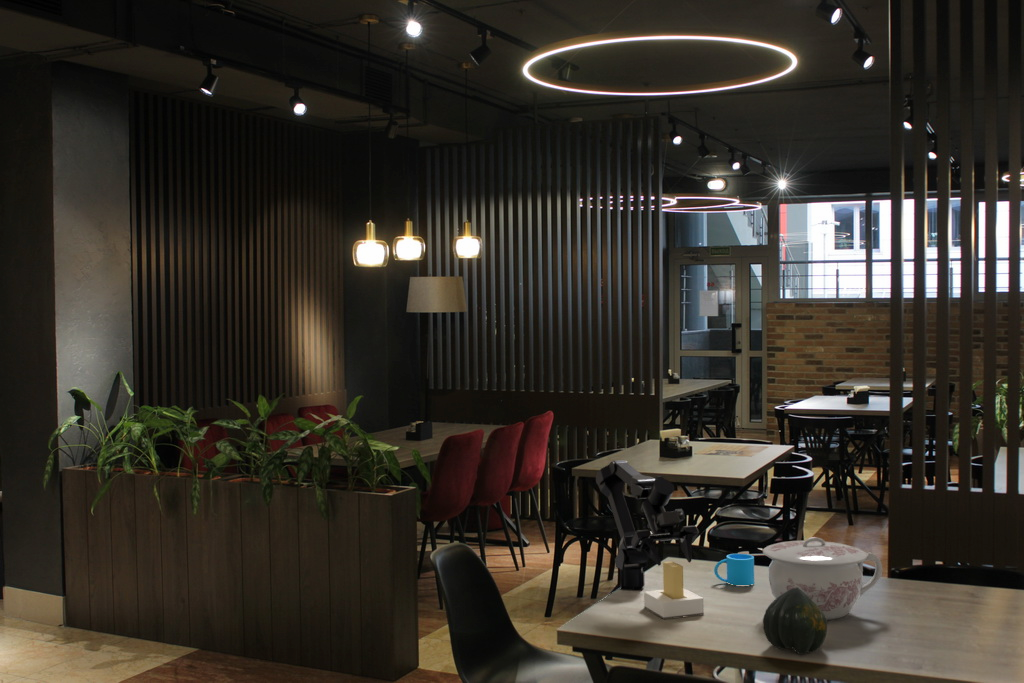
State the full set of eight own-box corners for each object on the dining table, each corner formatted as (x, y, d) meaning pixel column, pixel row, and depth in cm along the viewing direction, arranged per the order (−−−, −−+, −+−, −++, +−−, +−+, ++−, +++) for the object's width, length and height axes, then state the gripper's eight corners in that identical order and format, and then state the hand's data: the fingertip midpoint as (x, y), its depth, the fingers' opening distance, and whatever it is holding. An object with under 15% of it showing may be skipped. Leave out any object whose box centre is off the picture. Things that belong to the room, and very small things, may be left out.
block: (663, 607, 279) (663, 562, 279) (673, 606, 280) (672, 561, 280) (674, 612, 274) (673, 567, 274) (683, 611, 275) (683, 566, 275)
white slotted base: (644, 607, 281) (644, 591, 281) (682, 603, 285) (682, 587, 285) (663, 619, 270) (663, 602, 270) (703, 614, 273) (703, 598, 273)
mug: (751, 579, 310) (750, 553, 309) (756, 586, 301) (756, 559, 301) (712, 580, 310) (711, 553, 310) (716, 587, 302) (716, 560, 302)
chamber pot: (744, 615, 272) (743, 539, 272) (792, 594, 292) (791, 523, 292) (843, 635, 253) (842, 553, 253) (887, 611, 273) (886, 535, 273)
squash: (783, 640, 233) (814, 586, 237) (742, 626, 246) (772, 575, 251) (820, 674, 237) (850, 620, 242) (778, 658, 251) (807, 607, 255)
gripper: (634, 501, 278) (653, 549, 267) (695, 497, 283) (715, 543, 273) (623, 524, 285) (640, 572, 275) (682, 519, 291) (701, 566, 281)
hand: (675, 563), depth 276 cm, fingers open, 9 cm apart
